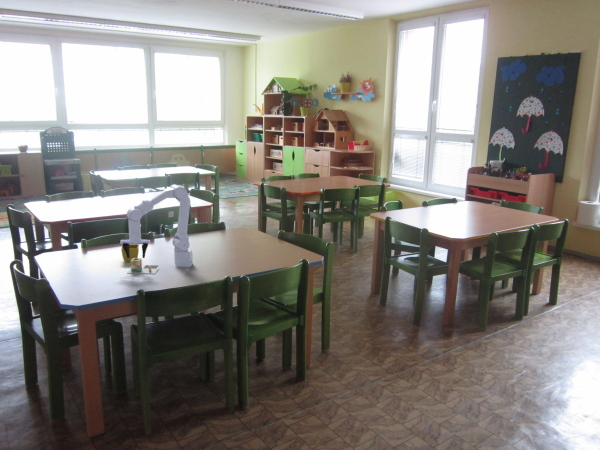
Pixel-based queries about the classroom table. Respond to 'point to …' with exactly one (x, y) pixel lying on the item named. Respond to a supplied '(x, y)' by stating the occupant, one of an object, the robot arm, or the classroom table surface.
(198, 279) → the classroom table surface
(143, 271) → the pin board
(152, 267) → the pad
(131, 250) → the flower pot
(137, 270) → the sleeve
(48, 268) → the classroom table surface
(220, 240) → the classroom table surface
